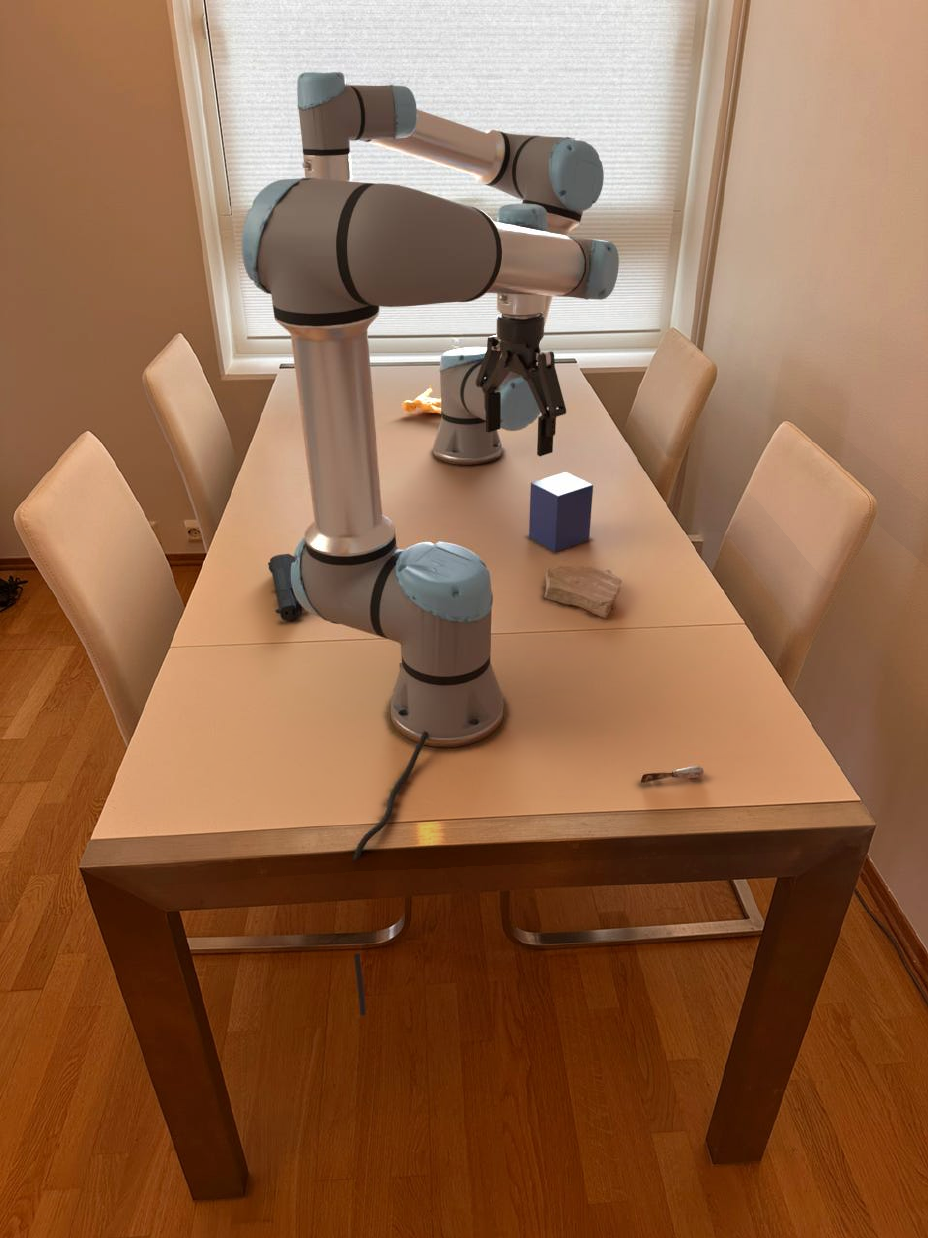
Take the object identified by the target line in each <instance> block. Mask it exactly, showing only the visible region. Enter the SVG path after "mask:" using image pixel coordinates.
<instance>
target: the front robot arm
mask: <svg viewBox="0 0 928 1238" xmlns="http://www.w3.org/2000/svg"><path fill="white" fill-rule="evenodd" d="M241 257H242V263H243V267H244V270H245V272H246V274H247V276H248V278H249V280H251V281H253V284H254V285H255V287H256V288H257V289H259V290H261V291H262V292H263V293H265V294H268V295H270V296H271V303H272V310H273V316H274V321H275V322H276V323H278V325H280V326H281V327H283V329H284V330H286V331H287V332H288V334H290V339H291V347H292V349H291V350H292V355H293V363H294V371H295V379H296V387H297V396H298V402H299V411H300V419H301V426H302V435H303V440H304V449H305V450H304V451H305V456H306V464H307V465H306V466H307V473H308V480H309V487H310V488H309V489H310V496H311V504H312V512H313V521H312V522H311V524H309V525H308V526H307V528H306V529H305V531H304V537H302V539H301V540H300V541H299V543H298V544H297V546H296V547H295V551H294V553H293V556H294V557H295V558H296V560H295V562H293V563H292V564H291V583H292V588H293V591H294V594H295V596H296V598H297V600H298V602H299V603H300V604H301V606H302V609H304V610H305V611H307V612H308V613H310V614H311V615H314V616H315V617H318V618H321V619H322V620H323V621H325V622H329V623H331V624H335V625H341V626H345V627H349V628H351V629H354V630H358V631H361V632H365V633H367V634H371V635H373V636H376V637H379V638H383V639H387V640H389V641H393V642H396V643H398V644H399V645H400V655H401V662H399V672H398V675H397V678H396V681H395V684H394V687H393V690H392V693H391V696H390V703H389V706H390V718H391V721H392V724H393V725H394V727H395V728H396V729H397V731H398V732H399V733H400V734H402V735H403V736H404V737H406V738H407V739H409V740H411V741H413V742H415V743H417V744H416V747H415V749H414V751H413V753H412V755H411V757H410V760H409V762H408V765H407V766H406V768H405V770H404V772H403V773H402V775H401V777H400V778H399V779H398V781H397V782H396V783H395V785H394V787H393V788H392V789H391V792H390V794H389V797H388V801H387V806H386V810H385V812H384V815H383V817H382V818H381V819H380V821H379V822H378V823H377V824H376V825H375V826H373V827H372V828H371V829H370V830H369V831H367V832H366V833H365V834H364V836H362V838H361V839H360V841H359V843H357V846H356V849H355V851H354V854H353V860H355V861H357V860H359V859H360V858H361V857H362V856H361V855H362V853H363V851H364V848H365V846H366V845H367V843H368V842H369V841H370V839H371V838H372V837H374V836H375V835H376V834H377V833H378V832H379V831H381V830H382V829H383V828H384V827H385V826H386V825H387V823H388V822H389V820H390V818H391V816H392V813H393V809H394V804H395V800H396V797H397V795H398V793H399V791H400V789H401V788H402V787H403V785H404V784H405V783H406V781H407V780H408V778H409V776H410V774H411V773H412V771H413V770H414V769H413V768H414V767H415V765H416V762H417V760H418V758H419V755H420V753H421V751H422V749H423V746H424V745H425V746H430V747H437V748H454V747H455V748H457V747H463V746H467V745H471V744H473V743H476V742H480V741H481V740H483V739H485V738H486V737H488V736H489V735H491V734H492V733H493V732H494V731H495V730H496V729H498V727H499V726H500V724H501V722H502V720H503V717H504V697H503V693H502V690H501V687H500V685H499V682H498V679H497V677H496V674H495V672H494V668H493V666H492V664H491V654H492V653H491V651H492V649H491V648H492V611H493V610H492V608H493V603H494V596H493V591H492V580H491V579H492V578H491V573H490V570H489V568H488V567H487V564H486V563H485V561H484V560H483V559H482V558H481V557H480V556H479V555H477V553H475V552H474V551H472V550H470V549H469V548H467V547H464V546H461V545H460V544H459V545H458V544H455V543H451V542H446V541H437V542H436V543H432V542H431V541H423V542H418V543H415V544H412V545H410V546H408V547H406V548H405V549H400V548H398V546H397V532H396V526H395V524H394V523H393V521H392V520H391V519H390V518H388V517H387V516H385V515H384V514H383V507H382V506H383V505H382V495H381V494H382V493H381V481H380V467H379V455H378V445H377V433H376V432H377V431H376V419H375V406H374V394H373V393H374V392H373V383H372V371H371V369H372V367H371V357H370V347H369V333H368V330H369V327H370V326H371V324H373V322H374V321H375V320H376V319H377V317H378V316H379V314H380V312H381V311H380V307H381V308H382V307H383V308H403V307H405V308H407V307H418V306H428V305H437V304H449V303H469V302H473V301H476V300H478V299H480V298H481V297H483V296H485V295H486V294H496V310H497V312H498V314H497V315H496V335H492V336H488V337H487V340H486V348H487V350H486V353H485V356H484V359H483V362H482V365H481V368H480V371H479V374H478V376H477V379H476V386H477V387H481V388H482V391H483V393H484V401H485V402H484V408H485V411H486V432H488V433H489V432H492V431H495V430H497V431H498V430H501V428H500V422H501V393H500V392H495V391H496V390H500V389H498V388H499V386H500V385H501V383H502V382H503V381H504V379H505V378H506V376H507V375H508V374H509V372H510V371H511V372H516V373H517V374H519V375H522V377H523V379H524V380H525V381H527V382H528V384H529V387H530V389H531V391H532V393H533V396H534V398H535V400H536V402H537V405H538V407H539V409H540V411H541V412H540V414H541V415H539V416H538V417H537V443H536V444H537V445H536V446H537V450H536V455H537V456H539V457H543V456H546V455H549V454H552V453H553V451H554V450H553V449H554V448H553V447H554V436H555V435H556V428H557V427H556V426H557V417H560V416H564V415H566V414H567V408H566V404H565V401H564V397H563V392H562V389H561V385H560V382H559V381H560V380H559V378H558V374H557V370H556V365H555V353H554V352H553V350H551V351H546V352H545V351H544V352H543V351H541V347H540V346H539V343H540V344H541V342H542V340H543V339H544V337H545V327H544V320H545V317H544V315H543V314H542V312H544V311H545V295H547V296H552V297H563V298H575V299H581V300H582V299H583V300H586V301H587V300H599V301H602V300H605V299H607V298H608V297H609V296H610V295H611V294H612V293H613V291H614V289H615V286H616V283H617V279H618V274H619V266H620V259H619V252H618V249H617V246H616V245H615V244H614V243H613V242H612V241H609V240H601V239H597V238H583V237H575V236H570V235H568V236H565V235H560V234H555V233H550V232H548V222H547V211H546V209H545V208H544V207H542V206H540V205H535V204H522V203H511V204H506V205H505V204H504V205H502V206H500V207H499V209H498V211H497V216H496V221H494V220H493V218H491V217H490V216H489V214H487V213H486V212H485V211H483V210H481V209H479V208H477V207H474V206H472V205H471V206H470V205H466V204H463V203H459V202H457V201H454V200H450V199H448V198H444V197H441V196H437V195H434V194H431V193H428V192H425V191H422V190H419V189H415V188H411V187H408V186H404V185H400V184H392V183H384V182H383V183H374V182H360V181H337V180H325V179H316V178H305V177H300V178H285V179H283V178H282V179H278V180H275V181H272V182H270V183H269V184H267V185H266V186H265V187H263V188H262V189H261V190H260V191H259V193H258V194H257V195H256V196H255V197H254V200H253V202H252V206H251V208H249V209H248V211H247V212H246V216H245V218H244V222H243V226H242V234H241ZM540 341H541V342H540ZM501 353H502V356H501ZM500 356H501V358H500ZM533 369H535V371H534V372H532V371H533ZM353 957H354V959H353V960H354V965H355V966H354V967H355V975H356V984H357V993H358V1003H359V1015H360V1016H362V1017H364V1016H366V1013H367V1012H366V999H365V990H364V980H363V969H362V962H361V953H356V954H354V955H353Z"/></svg>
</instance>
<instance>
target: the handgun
mask: <svg viewBox="0 0 928 1238" xmlns="http://www.w3.org/2000/svg"><path fill="white" fill-rule="evenodd" d="M295 560H296V558H295V556H294V555H292V554H290V553H284V554H281V553H280V554H277V555H273V556H272V557H271V558H270V559H269V561H268V562H267V565H268V570H269V572H270V573H271V575H272V581H273V585H274V590H275V597H276V601H277V605H278V608H276V609H275V610H274V612H275V613H276V614H279V615H280V618H281V619H282V620H283V621H293V620H294V621H295V620H297V617H298V612H299V614H300V615H302V614H303V607H302V606H301V604H300V603H299V602H298V600H297V598H296V596H295V594H294V591H293V588H292V583H291V564H292V563H293V562H295Z"/></svg>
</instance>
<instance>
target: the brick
mask: <svg viewBox="0 0 928 1238" xmlns="http://www.w3.org/2000/svg"><path fill="white" fill-rule="evenodd" d="M593 493H594V484H593V483H591V482H588V481H586V480H584V479H582V478H580V477H577V476H575V475H573V474H571V473H569V472H567V471H563V472H561V473H560V472H559V473H558V474H554V475H551V476H548V477H547V476H546V477H545V478H541V479H538V480H535V481H532V482H530V494H529V495H530V497H529V518H528V519H529V520H528V523H529V524H528V538H529V539H531V540H533V541H534V542H536V543H538V544H540V545H542V546H544V547H545V548H547V549H549V550H550V551H551V552H554V553H556V552H559V551H562V550H565V549H567V548H571V547H573V546H576V545H579V544H582V543H584V542H586V541H589V540H590V533H591V522H592V521H591V519H592V507H593V495H594V494H593Z"/></svg>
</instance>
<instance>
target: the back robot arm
mask: <svg viewBox="0 0 928 1238" xmlns="http://www.w3.org/2000/svg"><path fill="white" fill-rule="evenodd" d="M296 84H297V85H296V86H297V87H296V92H297V96H296V97H297V110H298V116H299V125H300V135H301V145H302V158H303V162H302V164H301V165H302V168H303V169H304V178H316V179H325V180H337V181H349V182H352V180H353V175H352V174H353V173H352V159H351V142H350V141H352V142H353V141H359V142H360V141H361V142H364V143H368V144H371V145H375V146H378V147H380V148H381V147H382V148H385V149H388V150H391V151H394V152H398V153H401V154H404V155H408V156H411V157H414V158H417V159H420V160H424V161H426V162H430V163H434V164H437V165H440V166H443V167H446V168H448V169H452V170H455V171H459V172H462V173H465V174H469V175H473V176H474V178H475V180H476V182H478V183H479V184H481V185H485V186H488V187H490V188H493V189H496V190H498V191H500V192H503V193H504V194H507V195H510V196H512V197H514V198H516V199H519V200H522V202H521V204H535V205H540V206H542V207H544V208H545V209H546V211H547V222H548V232H550V233H555V234H560V235H565V236H570V235H569V234H570V233H571V231H572V230H573V229H575V228H577V227H578V226H580V224H581V220H582V217H583V213H584V212H585V211H587V210H589V209H591V208H592V206H593V205H594V204H596V203H597V201H598V199H600V196H601V193H602V191H603V187H604V180H605V175H604V173H605V172H604V166H603V162H602V160H601V158H600V154H599V153H598V151H597V150H596V148H595V147H594V146H593V145H592V144H590V143H589V142H587V141H585V140H582V139H578V138H574V137H569V136H565V137H563V136H549V135H539V134H516V133H508V132H504V131H500V130H498V129H489V130H487V131H486V132H484V131H481V130H478V129H475V128H473V127H470V126H467V125H464V124H462V123H458V122H456V121H453V120H450V119H446V118H444V117H440V116H438V115H435V114H433V113H430V112H426V111H423V110H420V109H418V104H417V100H416V97H415V95H414V93H413V91H412V90H411V89H410V88H409V87H407V86H405V85H394V84H388V85H364V84H363V85H360V84H359V85H358V84H348V83H347V81H346V76H345V74H344V73H343V72H340V71H327V72H326V71H325V72H324V71H322V72H321V71H320V72H319V71H318V72H316V71H315V72H314V71H313V72H312V71H311V72H310V71H309V72H308V71H307V72H302V73H300V74H299V75H298V77H297V83H296ZM552 301H553V296H547V295H545V311H544V312H542V314H543V315H544V317H545V320H544V328H545V327H546V323H547V319H548V315H549V311H550V307H551V305H552ZM541 343H542V340H541V341H540V343H539V347H540V345H541ZM486 350H487V346H486V347H485V346H469V347H460V348H454V349H450V350H447V351H445V352H444V353H442V355H441V356H440V360H439V375H440V378H439V379H440V382H439V383H440V399H441V414H440V416H441V417H440V422H439V426H438V429H437V431H436V436H435V439H434V442H433V455H434V456H435V458H436V459H438V460H440V461H442V462H445V463H448V464H453V465H459V466H461V465H462V466H473V465H481V464H487V463H490V462H493V461H495V460H497V459H498V458H499V457H500V456H501V455H502V441H501V438H500V435H499V432H498V430H495V431H492V432H489V433H488V432H486V411H485V408H484V402H485V401H484V393H483V391H482V388H481V387H477V386H476V379H477V376H478V374H479V371H480V368H481V365H482V362H483V359H484V356H485V353H486ZM501 356H502V353H501ZM501 356H500V358H501ZM534 371H535V369H533V371H532V372H534ZM498 389H500V390H496V391H495V392H500V393H501V422H500V429H502V430H505V431H508V432H517V431H521V430H524V429H526V428H527V427H528V426H529V425H530V424H531V425H532V424H533V423H534V422H535V421H537V419H538V417H540V414H541V411H540V409H539V407H538V405H537V402H536V400H535V398H534V396H533V393H532V391H531V389H530V387H529V384H528V382H527V381H525V380H524V379H523V377H522V375H519V374H517V373H516V372H511V371H510V372H509V374H508V375H507V376H506V378H505V379H504V381H503V382H502V383H501V385H500V386H499V388H498Z"/></svg>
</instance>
